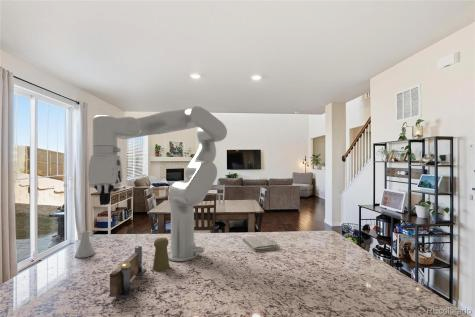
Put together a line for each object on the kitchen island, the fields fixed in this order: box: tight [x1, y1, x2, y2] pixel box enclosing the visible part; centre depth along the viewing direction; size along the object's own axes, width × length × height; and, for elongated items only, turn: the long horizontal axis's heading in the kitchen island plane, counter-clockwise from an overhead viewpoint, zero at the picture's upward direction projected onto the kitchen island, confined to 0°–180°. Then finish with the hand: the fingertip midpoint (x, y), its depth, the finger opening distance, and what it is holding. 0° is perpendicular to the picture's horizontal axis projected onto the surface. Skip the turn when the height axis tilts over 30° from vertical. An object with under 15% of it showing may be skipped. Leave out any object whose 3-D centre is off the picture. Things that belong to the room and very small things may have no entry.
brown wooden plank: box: [109, 252, 139, 298], centre depth 81 cm, size 17×2×6 cm, turn 0°
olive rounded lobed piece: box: [152, 237, 171, 272], centre depth 95 cm, size 6×6×11 cm
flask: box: [74, 230, 96, 259], centre depth 108 cm, size 7×7×10 cm
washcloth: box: [242, 234, 279, 253], centre depth 120 cm, size 12×18×3 cm, turn 18°
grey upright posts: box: [115, 245, 147, 299], centre depth 83 cm, size 7×19×9 cm, turn 178°
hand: (105, 204), depth 87 cm, fingers closed
